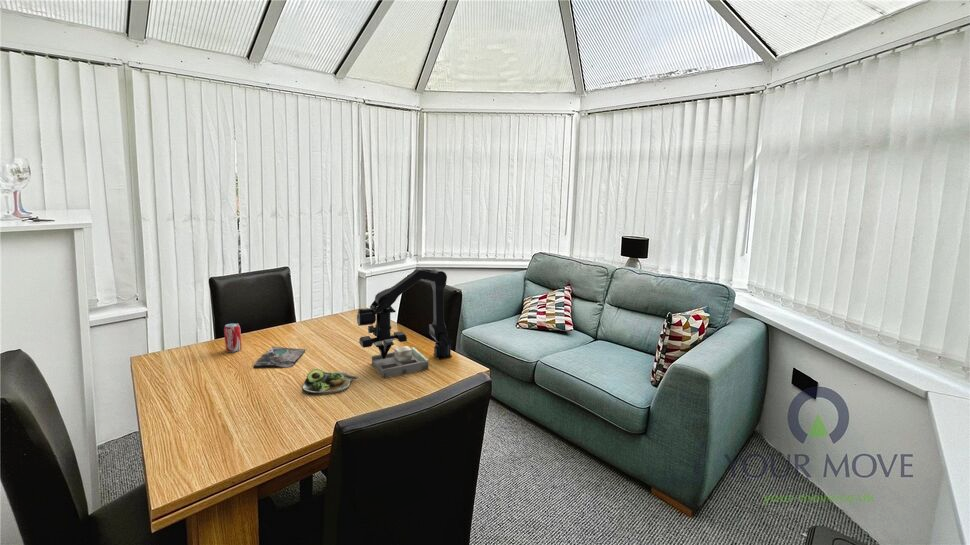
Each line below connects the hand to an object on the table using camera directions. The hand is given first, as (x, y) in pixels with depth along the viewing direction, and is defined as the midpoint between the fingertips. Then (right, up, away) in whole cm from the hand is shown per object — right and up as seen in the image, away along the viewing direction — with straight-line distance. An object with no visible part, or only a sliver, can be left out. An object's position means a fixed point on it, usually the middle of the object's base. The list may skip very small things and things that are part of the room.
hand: (383, 358), depth 183 cm
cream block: (+7, -1, +5) cm, 9 cm away
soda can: (-70, +1, +12) cm, 70 cm away
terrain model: (-45, -2, +5) cm, 45 cm away
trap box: (+7, -3, +1) cm, 8 cm away
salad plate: (-18, -7, -17) cm, 26 cm away
